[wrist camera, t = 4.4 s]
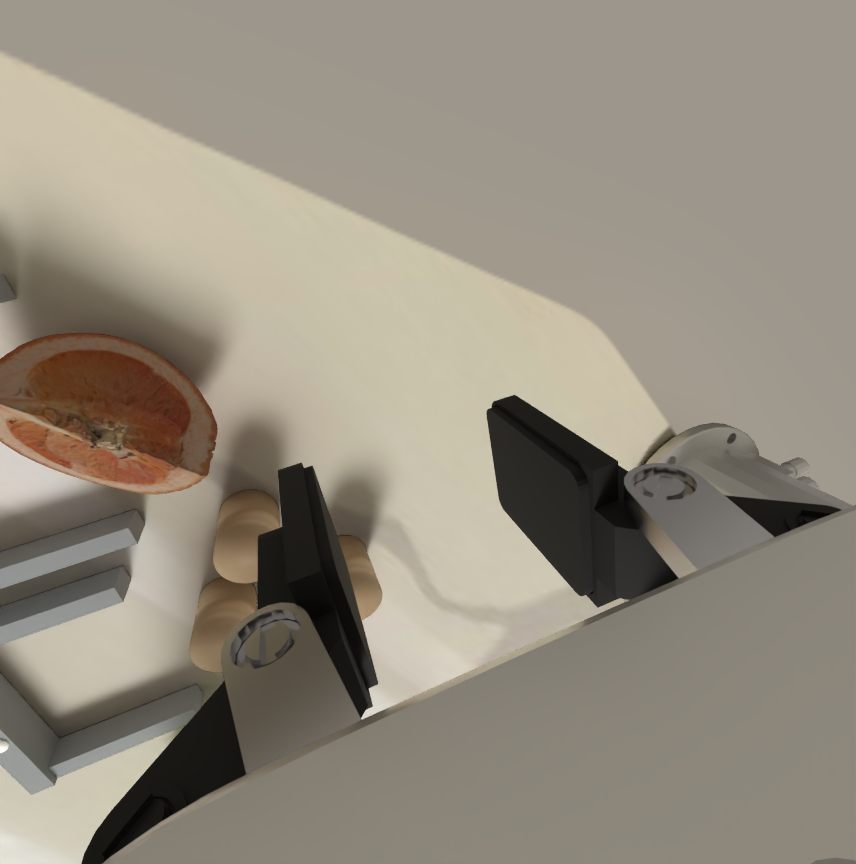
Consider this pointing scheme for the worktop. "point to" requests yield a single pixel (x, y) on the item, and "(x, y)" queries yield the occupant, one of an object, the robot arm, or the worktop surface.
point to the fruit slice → (105, 413)
